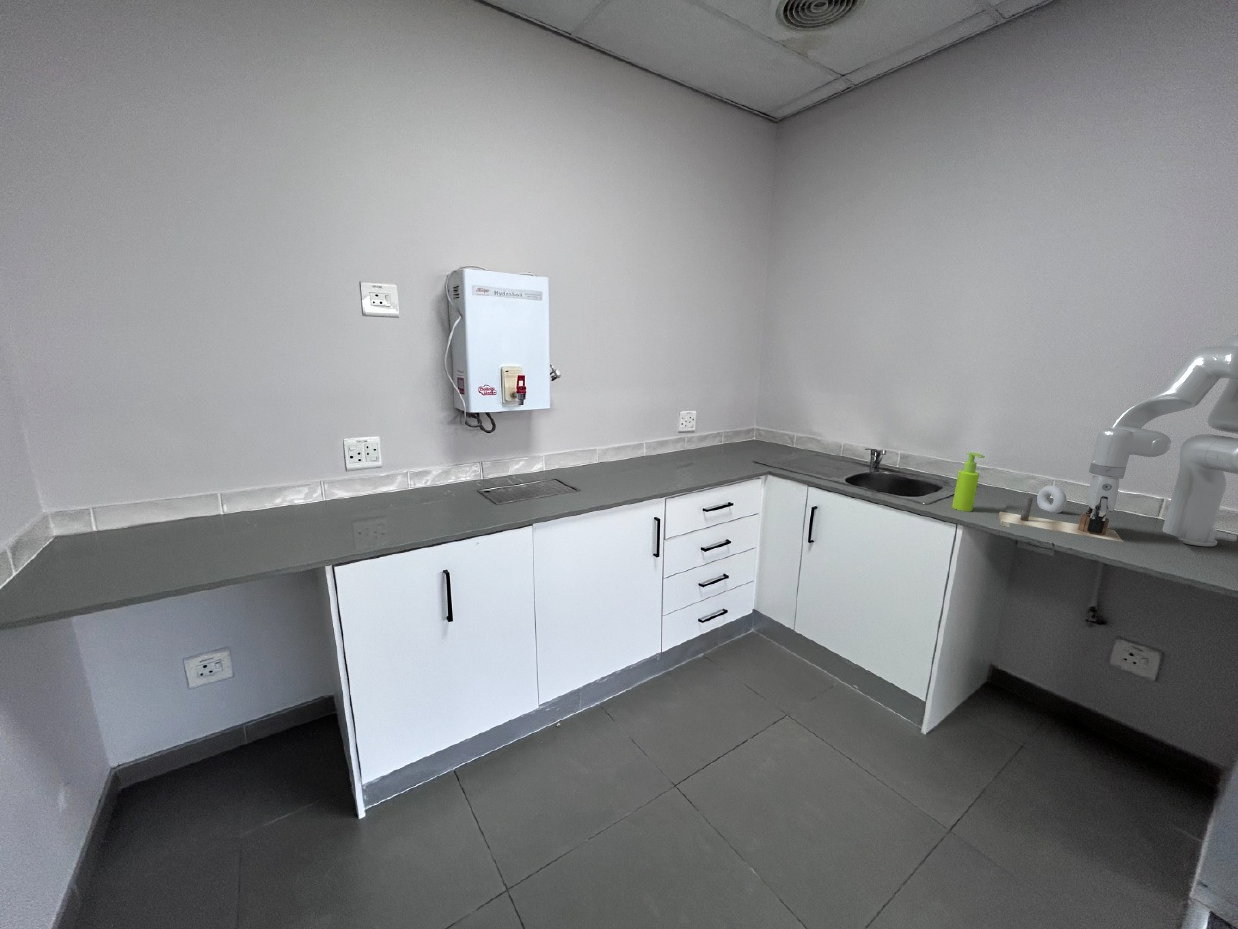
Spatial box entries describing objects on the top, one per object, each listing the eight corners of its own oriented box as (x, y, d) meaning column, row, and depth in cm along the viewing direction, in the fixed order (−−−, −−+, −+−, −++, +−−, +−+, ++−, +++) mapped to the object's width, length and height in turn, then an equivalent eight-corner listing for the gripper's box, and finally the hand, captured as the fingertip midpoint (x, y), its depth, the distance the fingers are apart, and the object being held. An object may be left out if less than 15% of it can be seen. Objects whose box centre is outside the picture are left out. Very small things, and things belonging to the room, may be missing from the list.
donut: (1065, 518, 166) (1072, 490, 163) (1055, 518, 166) (1062, 489, 163) (1041, 509, 175) (1047, 482, 173) (1031, 509, 175) (1037, 481, 173)
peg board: (1113, 534, 152) (1121, 505, 149) (1122, 546, 142) (1131, 515, 140) (999, 515, 167) (1004, 488, 165) (1000, 525, 157) (1006, 496, 155)
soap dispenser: (964, 512, 170) (975, 455, 165) (947, 506, 176) (958, 451, 172) (979, 512, 171) (990, 455, 166) (961, 505, 177) (972, 450, 173)
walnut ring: (1102, 530, 150) (1106, 516, 149) (1107, 536, 146) (1110, 521, 145) (1076, 526, 154) (1080, 512, 153) (1079, 531, 149) (1083, 517, 148)
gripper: (1132, 478, 136) (1115, 540, 141) (1117, 467, 150) (1103, 524, 154) (1095, 474, 141) (1080, 534, 145) (1084, 464, 154) (1071, 519, 159)
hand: (1092, 528), depth 150 cm, fingers closed on walnut ring, 6 cm apart
